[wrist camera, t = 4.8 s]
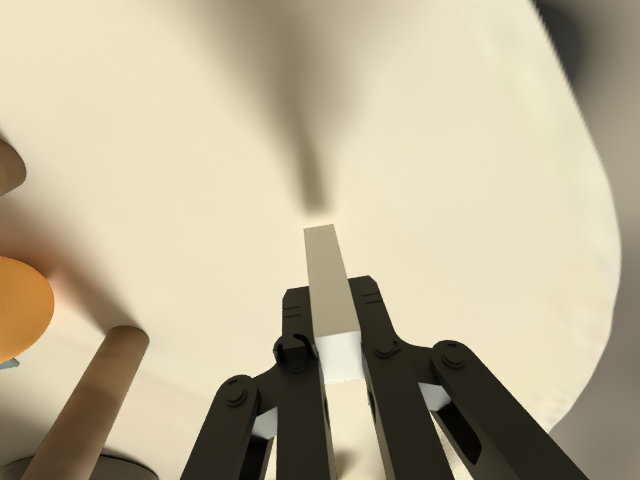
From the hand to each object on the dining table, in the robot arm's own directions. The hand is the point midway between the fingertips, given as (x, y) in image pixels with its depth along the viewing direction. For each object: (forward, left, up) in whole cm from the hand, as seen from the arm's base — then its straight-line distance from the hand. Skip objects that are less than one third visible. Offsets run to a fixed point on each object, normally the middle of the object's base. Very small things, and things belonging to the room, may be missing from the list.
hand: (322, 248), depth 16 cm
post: (-14, -6, -2) cm, 15 cm away
